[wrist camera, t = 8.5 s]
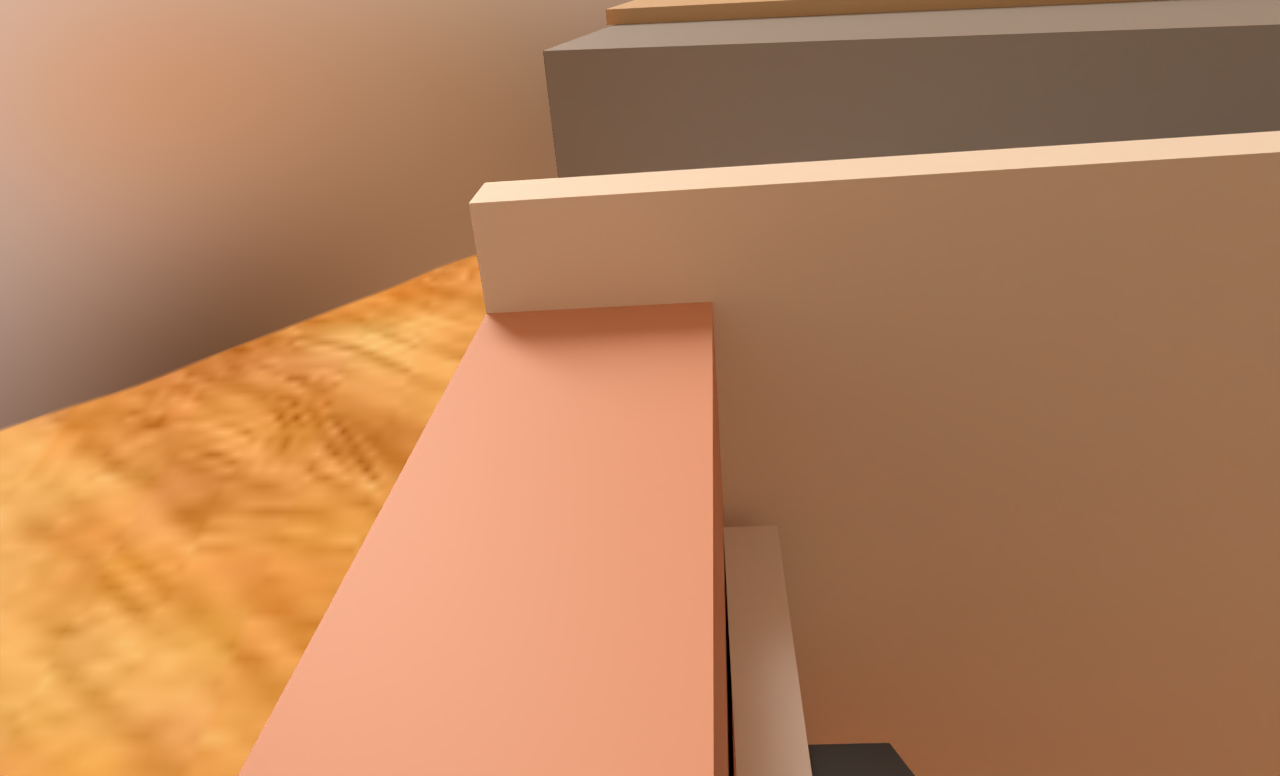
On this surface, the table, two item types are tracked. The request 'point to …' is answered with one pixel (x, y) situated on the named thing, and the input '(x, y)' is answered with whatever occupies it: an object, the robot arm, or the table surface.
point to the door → (839, 475)
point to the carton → (903, 78)
